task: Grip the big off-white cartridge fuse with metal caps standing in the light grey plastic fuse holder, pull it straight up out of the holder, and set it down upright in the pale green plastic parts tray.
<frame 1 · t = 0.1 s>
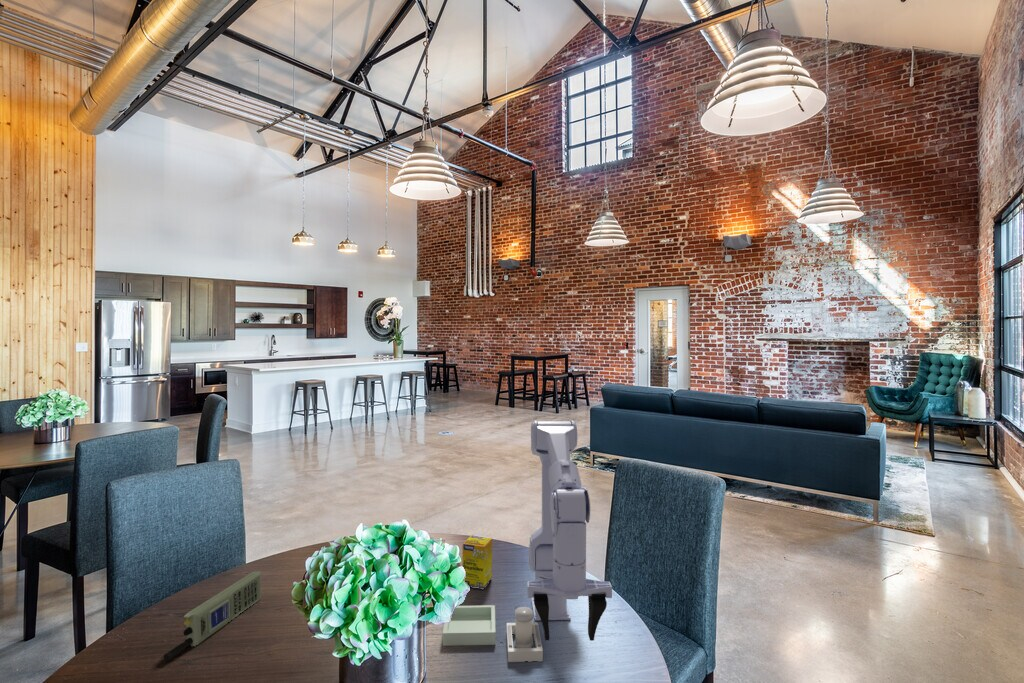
hand: (568, 637, 88), 10 cm above the table, tool pointing down, fingers open, 7 cm apart
fuse: (523, 628, 102), in the holder
handheld radio: (216, 629, 108), on the table
supplement box: (477, 584, 129), on the table
holder: (523, 646, 102), on the table
parts tray: (470, 630, 107), on the table
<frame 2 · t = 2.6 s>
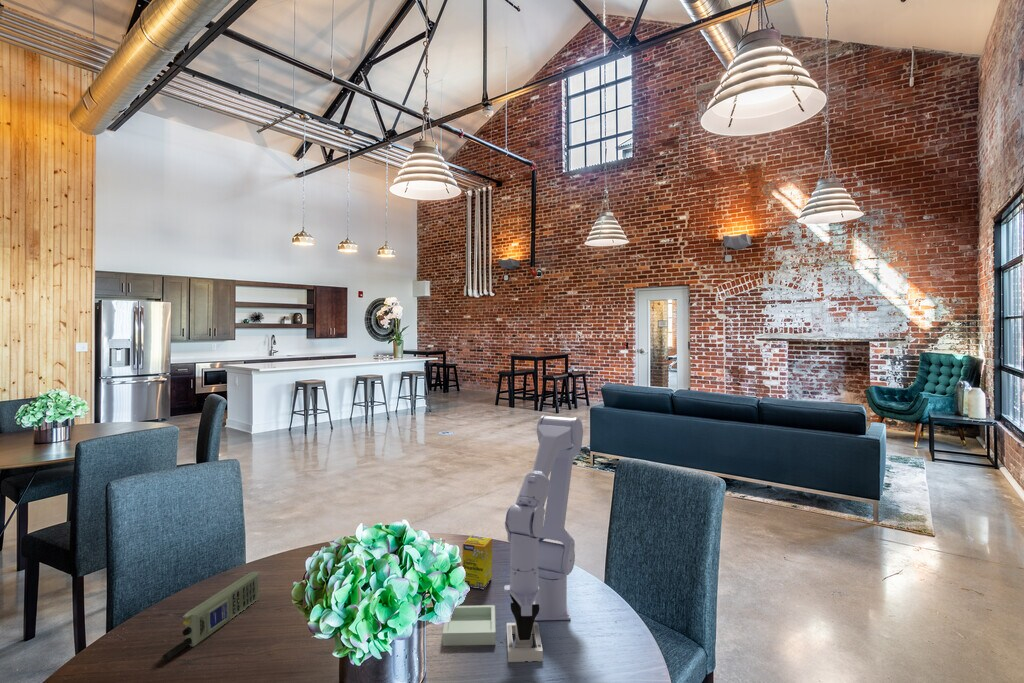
hand: (523, 633, 102), 3 cm above the table, tool pointing down, fingers closed on fuse, 3 cm apart
fuse: (523, 628, 102), in the holder, touching gripper
everything else where it was.
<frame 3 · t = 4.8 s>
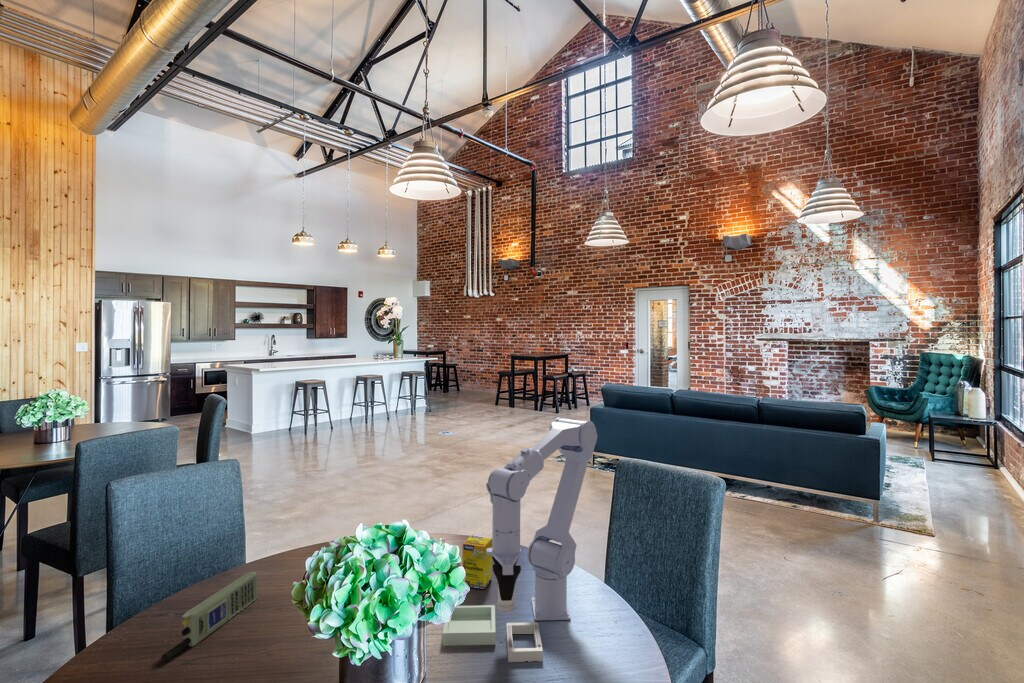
hand: (505, 594, 104), 9 cm above the table, tool pointing down, fingers closed on fuse, 3 cm apart
fuse: (506, 590, 104), point 10 cm above the table, touching gripper
everything else where it was.
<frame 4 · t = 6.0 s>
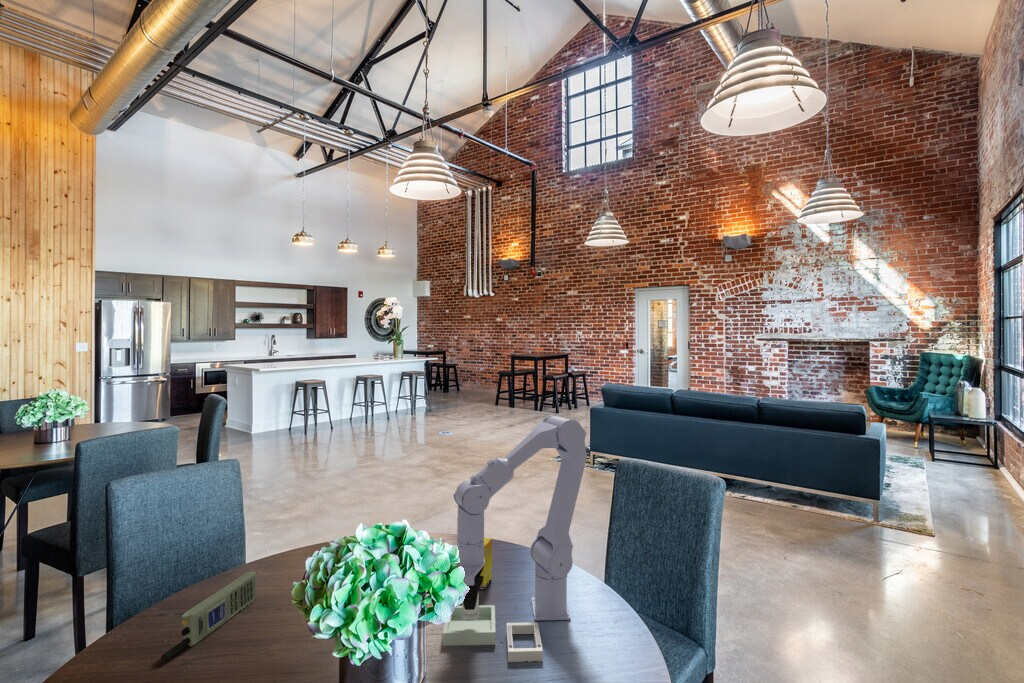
hand: (470, 603, 107), 6 cm above the table, tool pointing down, fingers closed on fuse, 3 cm apart
fuse: (470, 599, 107), point 6 cm above the table, touching gripper
everything else where it was.
when the fingers open (4 cm above the table, at t = 7.0 s): fuse stays where it is, resting on parts tray.
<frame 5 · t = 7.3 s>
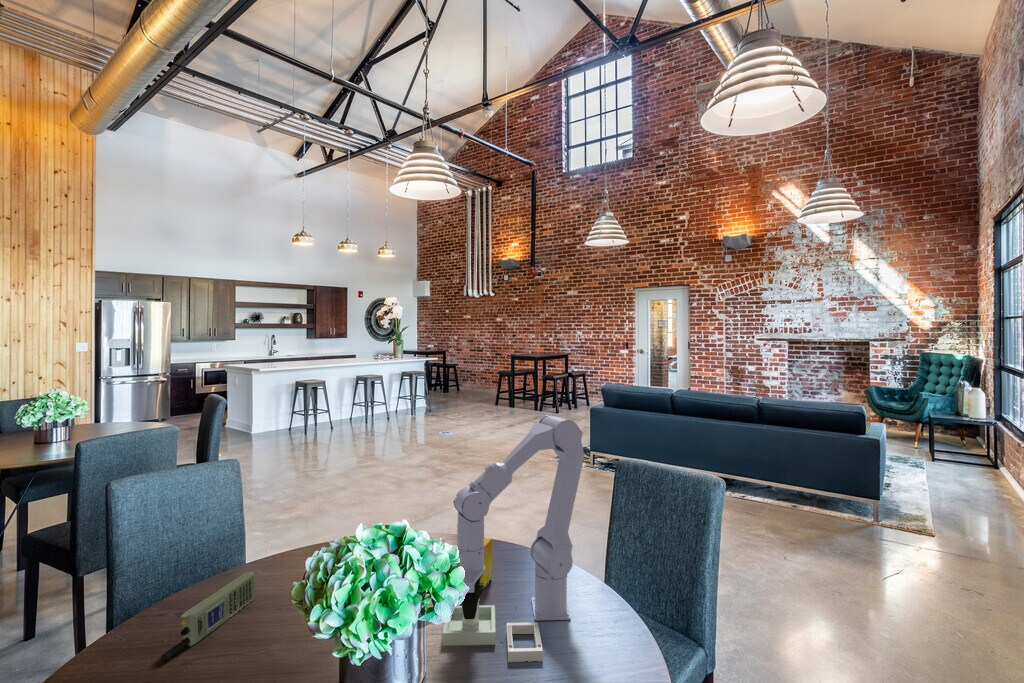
hand: (470, 610, 108), 4 cm above the table, tool pointing down, fingers open, 6 cm apart
fuse: (470, 610, 107), in the parts tray, point 4 cm above the table
everything else where it was.
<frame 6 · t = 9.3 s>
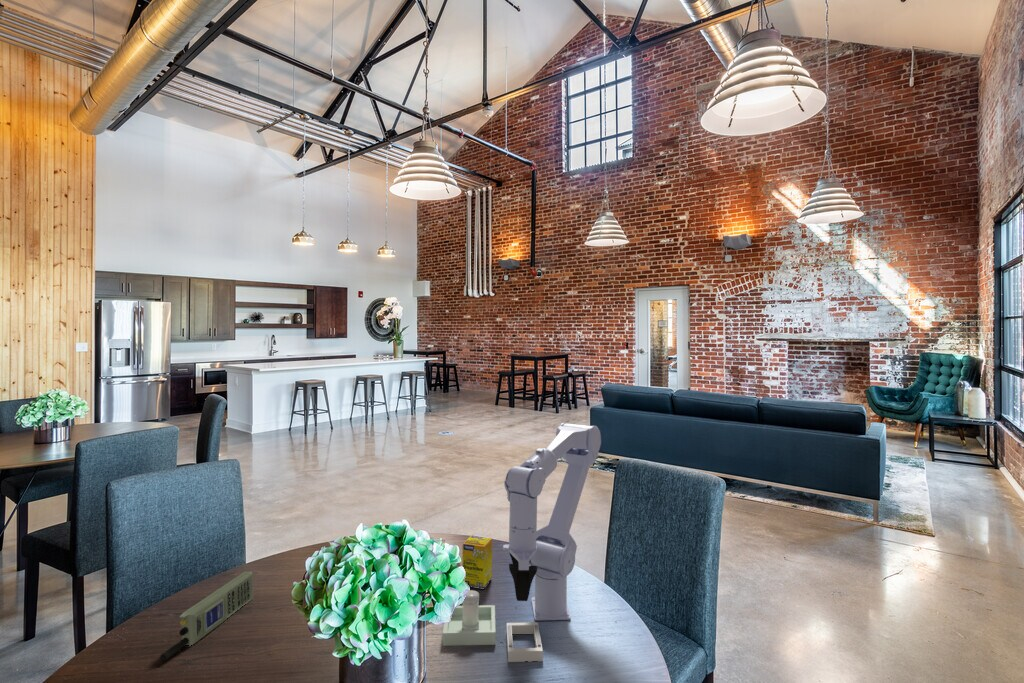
hand: (521, 591, 105), 9 cm above the table, tool pointing down, fingers open, 7 cm apart
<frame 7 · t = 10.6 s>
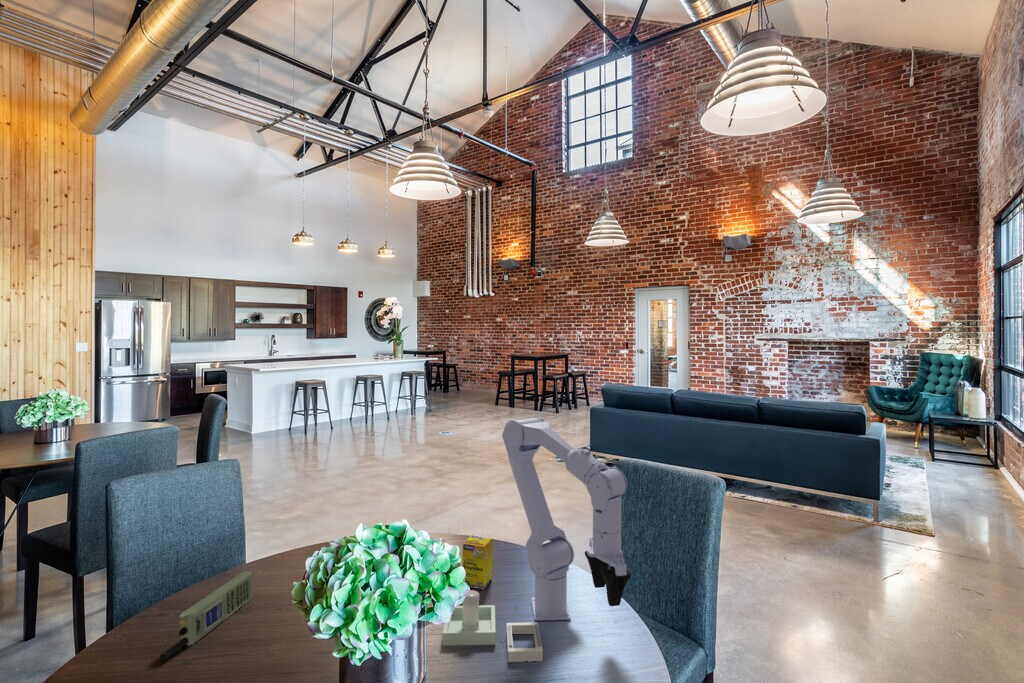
hand: (606, 595, 104), 9 cm above the table, tool pointing down, fingers open, 7 cm apart
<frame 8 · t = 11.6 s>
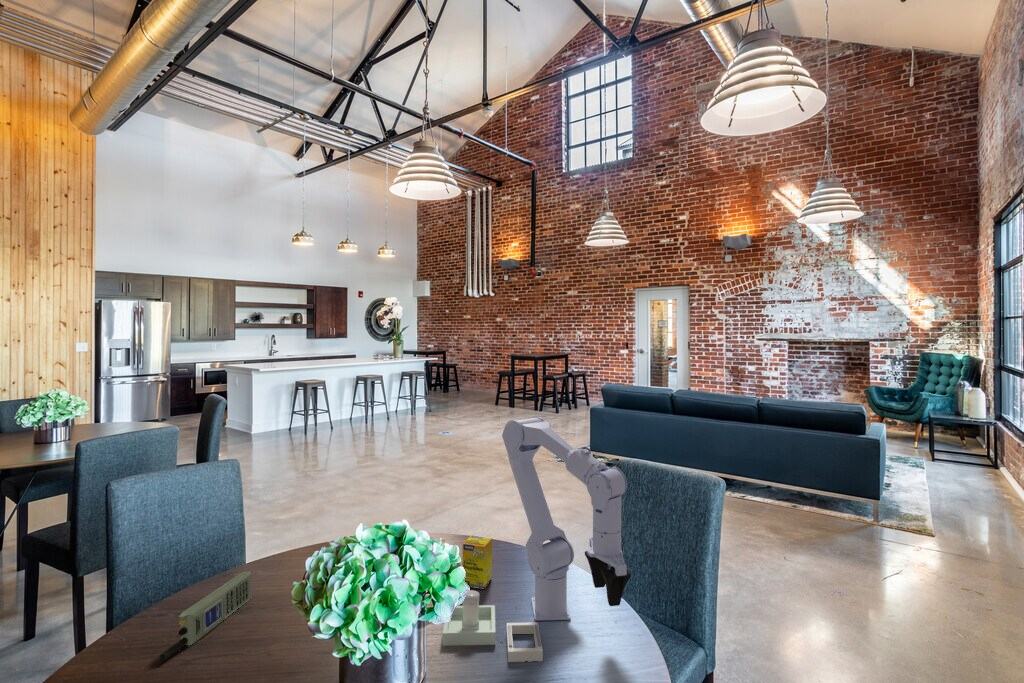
hand: (606, 595, 104), 9 cm above the table, tool pointing down, fingers open, 7 cm apart
at the end: fuse 0.1 cm off-centre on the parts tray, point 4.1 cm above the parts tray's base; fuse tilted 0°; the gripper is holding nothing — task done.
